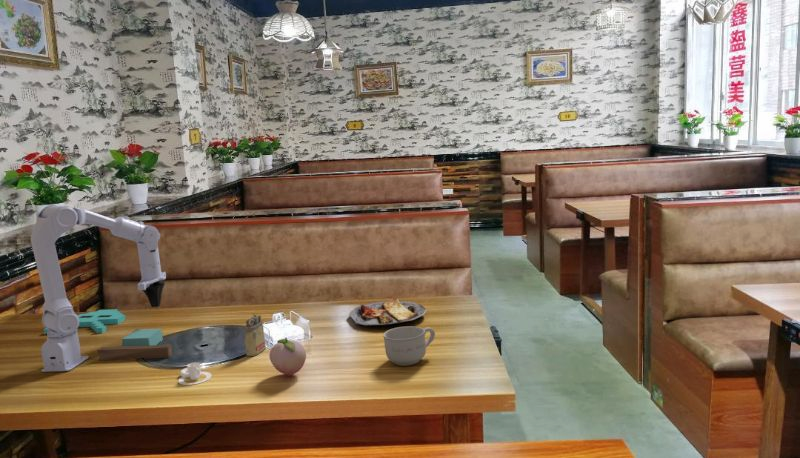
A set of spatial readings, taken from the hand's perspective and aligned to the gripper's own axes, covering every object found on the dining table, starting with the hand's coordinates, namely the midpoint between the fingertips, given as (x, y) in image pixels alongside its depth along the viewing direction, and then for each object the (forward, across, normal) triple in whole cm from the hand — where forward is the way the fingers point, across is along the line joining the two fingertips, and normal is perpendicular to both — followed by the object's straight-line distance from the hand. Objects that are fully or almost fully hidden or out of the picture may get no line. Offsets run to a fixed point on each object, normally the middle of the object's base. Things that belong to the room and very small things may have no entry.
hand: (155, 306), depth 183 cm
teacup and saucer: (+10, -32, -26) cm, 42 cm away
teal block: (+9, -10, 0) cm, 13 cm away
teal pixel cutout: (+10, +14, +30) cm, 34 cm away
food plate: (+10, +8, -71) cm, 72 cm away
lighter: (+9, -18, -36) cm, 41 cm away
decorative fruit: (+9, -35, -50) cm, 62 cm away
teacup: (+9, -28, -80) cm, 85 cm away
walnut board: (+9, -19, -2) cm, 21 cm away
